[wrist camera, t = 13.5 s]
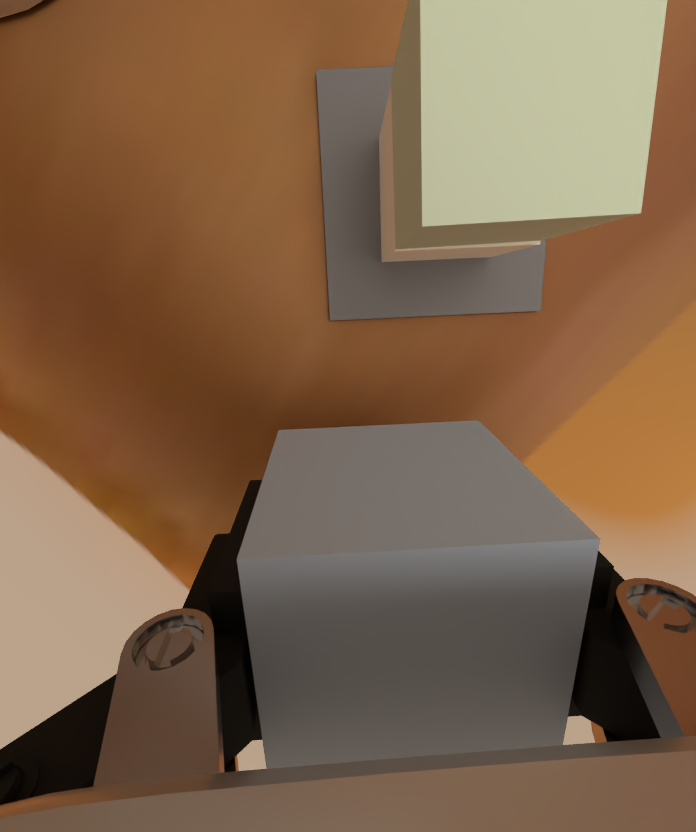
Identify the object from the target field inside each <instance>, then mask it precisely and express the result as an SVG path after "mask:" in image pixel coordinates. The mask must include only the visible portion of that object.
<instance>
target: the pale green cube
mask: <svg viewBox="0 0 696 832" xmlns="http://www.w3.org/2000/svg"><path fill="white" fill-rule="evenodd" d="M666 7H667V0H408V4H407V8H406V13H405V17H404V22H403V26H402V30H401V35H400V39H399V44H398V48H397V53H396V57H395V61H394V66H393V70H392V75H391V98H392V137H393V177H394V217H395V249H412V248H428V247H445V246H461V245H478V244H494V243H511V242H527V241H542V240H545V239H549V238H553V237H556V236H560V235H564V234H567V233H571V232H575V231H578V230H582V229H586V228H589V227H593V226H596V225H600V224H604V223H607V222H611V221H615V220H618V219H622V218H626V217H629V216H633V215H637V214H640V213H641V209H642V201H643V193H644V185H645V177H646V169H647V161H648V153H649V144H650V136H651V128H652V120H653V112H654V104H655V96H656V88H657V80H658V71H659V63H660V55H661V47H662V39H663V31H664V23H665V15H666Z"/></svg>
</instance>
